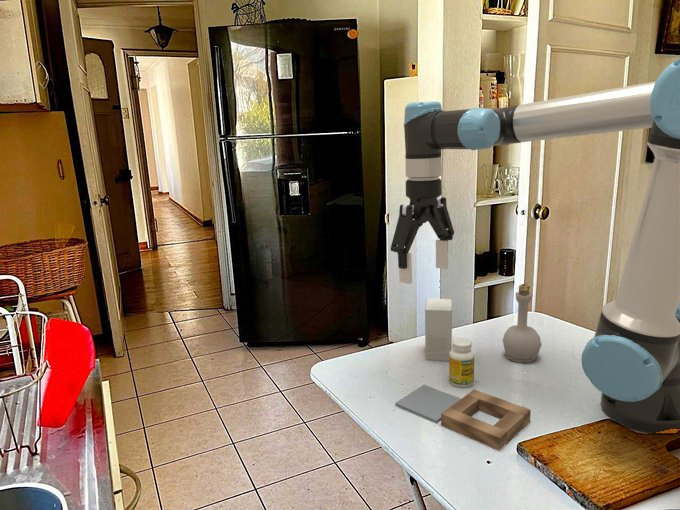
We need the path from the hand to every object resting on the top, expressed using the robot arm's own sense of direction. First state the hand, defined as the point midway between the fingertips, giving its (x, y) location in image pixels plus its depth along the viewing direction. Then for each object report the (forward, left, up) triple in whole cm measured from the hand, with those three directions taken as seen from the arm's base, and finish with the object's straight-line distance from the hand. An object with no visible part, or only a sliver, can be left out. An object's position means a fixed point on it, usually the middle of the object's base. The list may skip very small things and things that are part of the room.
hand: (424, 275), depth 115 cm
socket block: (-21, +10, -23) cm, 33 cm away
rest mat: (-9, +11, -23) cm, 27 cm away
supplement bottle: (-9, -1, -23) cm, 25 cm away
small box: (+3, -10, -23) cm, 25 cm away
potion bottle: (-13, -21, -23) cm, 34 cm away
